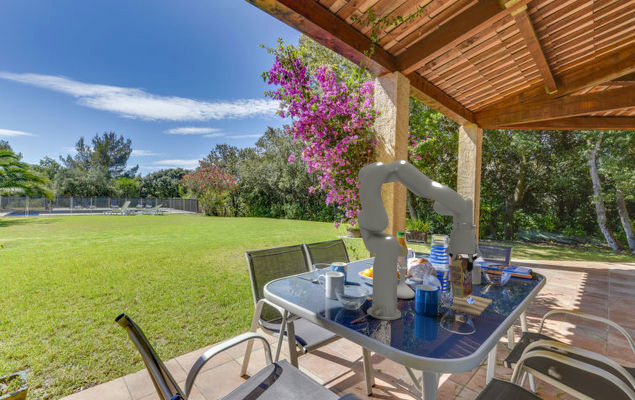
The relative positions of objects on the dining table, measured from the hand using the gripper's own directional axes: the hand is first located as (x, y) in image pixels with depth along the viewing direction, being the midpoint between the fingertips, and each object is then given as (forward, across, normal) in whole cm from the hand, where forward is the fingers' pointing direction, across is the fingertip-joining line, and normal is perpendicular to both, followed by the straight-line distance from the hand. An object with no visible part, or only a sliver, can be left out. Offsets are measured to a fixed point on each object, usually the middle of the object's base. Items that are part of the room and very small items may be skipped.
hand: (463, 269), depth 117 cm
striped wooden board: (+16, 0, -8) cm, 18 cm away
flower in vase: (+16, +26, +4) cm, 31 cm away
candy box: (+11, 0, 0) cm, 11 cm away
